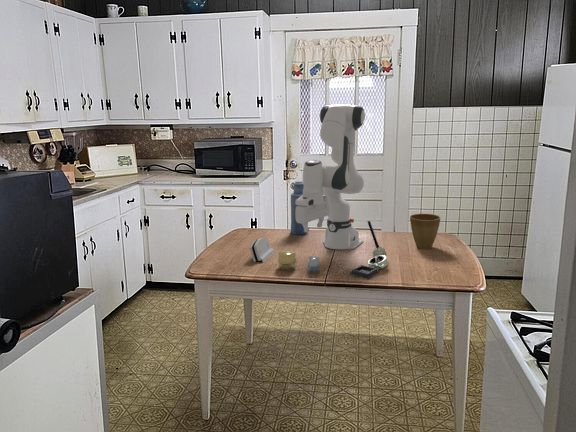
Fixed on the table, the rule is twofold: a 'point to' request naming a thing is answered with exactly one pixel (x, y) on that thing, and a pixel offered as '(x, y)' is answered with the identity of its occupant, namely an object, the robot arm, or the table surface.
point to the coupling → (313, 264)
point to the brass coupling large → (287, 260)
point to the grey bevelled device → (261, 250)
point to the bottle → (295, 227)
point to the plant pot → (424, 229)
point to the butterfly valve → (377, 253)
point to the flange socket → (364, 271)
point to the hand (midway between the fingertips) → (313, 229)
